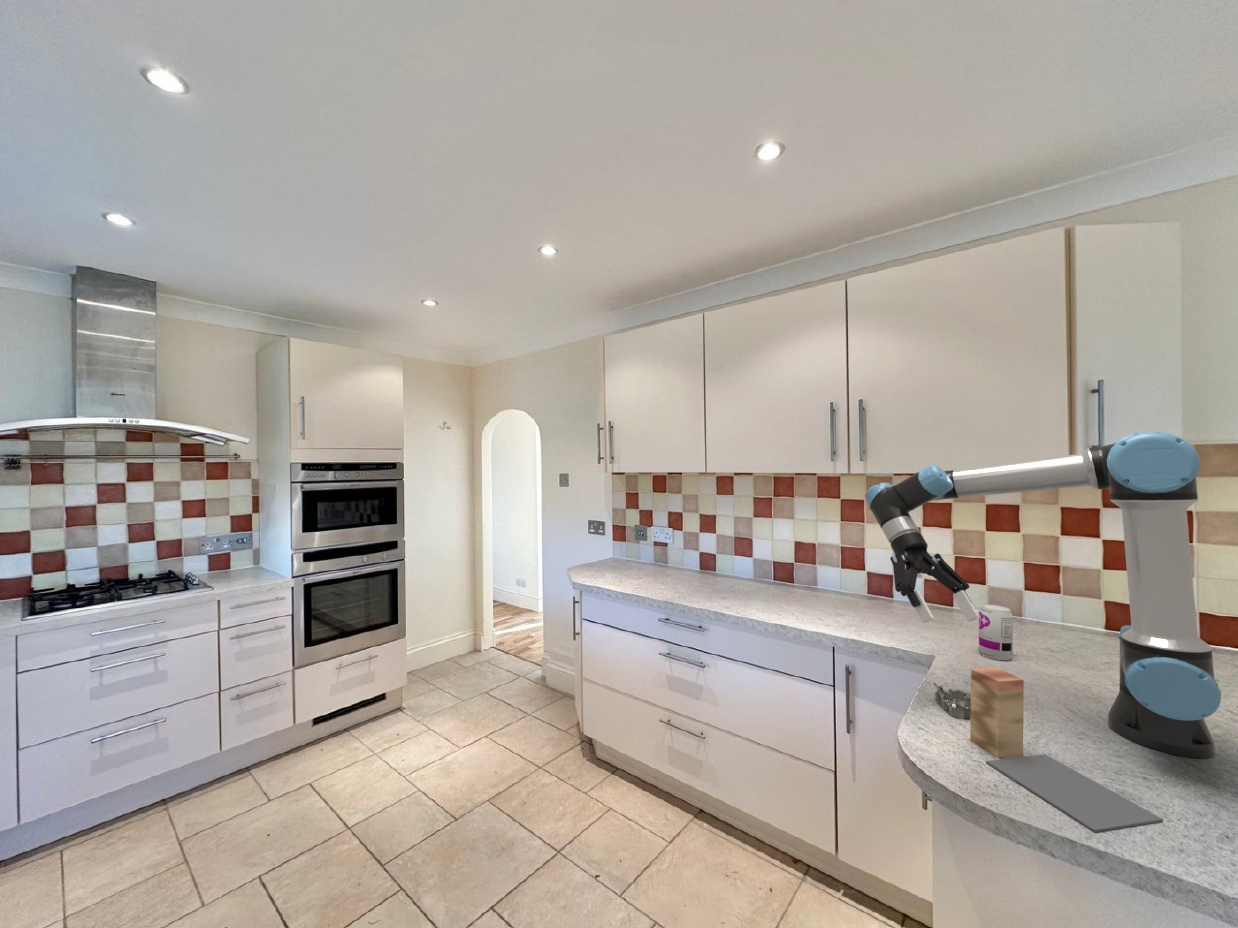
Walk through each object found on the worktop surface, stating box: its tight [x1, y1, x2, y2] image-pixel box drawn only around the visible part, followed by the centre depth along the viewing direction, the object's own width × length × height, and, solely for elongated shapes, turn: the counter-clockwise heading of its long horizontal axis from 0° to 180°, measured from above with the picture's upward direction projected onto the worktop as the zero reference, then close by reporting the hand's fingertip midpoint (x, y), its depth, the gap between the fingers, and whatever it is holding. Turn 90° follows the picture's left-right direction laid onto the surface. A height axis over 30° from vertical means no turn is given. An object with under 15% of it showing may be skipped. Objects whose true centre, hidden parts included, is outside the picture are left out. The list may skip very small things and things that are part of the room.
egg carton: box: [933, 682, 971, 720], centre depth 114 cm, size 11×8×4 cm
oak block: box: [969, 666, 1025, 759], centre depth 98 cm, size 6×6×15 cm
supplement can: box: [978, 603, 1014, 661], centre depth 148 cm, size 8×8×15 cm
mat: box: [985, 753, 1164, 834], centre depth 85 cm, size 18×14×1 cm
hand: (951, 619), depth 109 cm, fingers open, 13 cm apart
